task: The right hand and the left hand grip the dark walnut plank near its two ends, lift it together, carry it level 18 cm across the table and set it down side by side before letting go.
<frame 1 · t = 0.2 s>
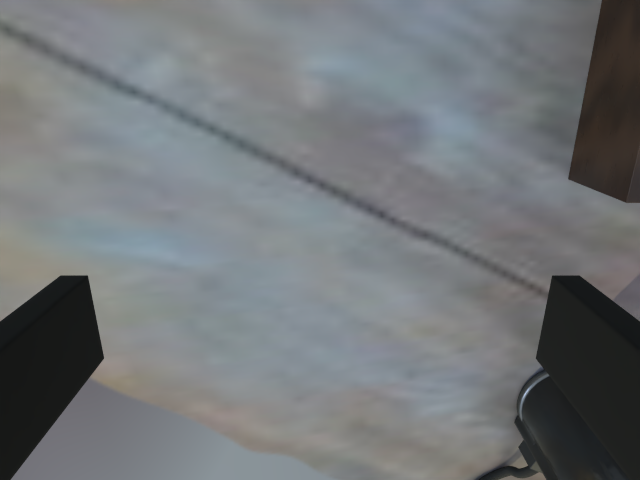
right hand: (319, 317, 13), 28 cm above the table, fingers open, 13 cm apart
walnut plank: (627, 17, 35), on the table
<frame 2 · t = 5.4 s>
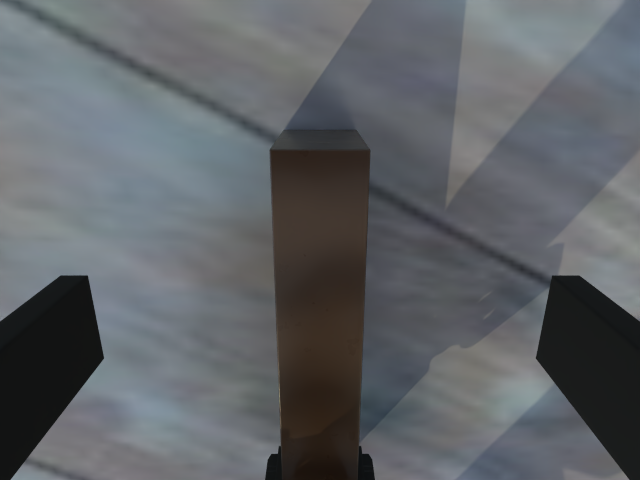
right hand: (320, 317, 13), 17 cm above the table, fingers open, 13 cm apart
walnut plank: (320, 316, 32), on the table, touching left hand
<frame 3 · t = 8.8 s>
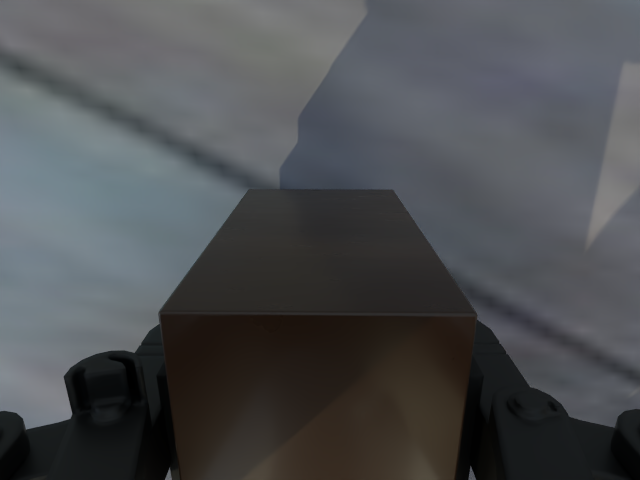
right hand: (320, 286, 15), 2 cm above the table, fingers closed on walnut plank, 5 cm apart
when the right hand's fingers open (1 cm above the table, at t = 14.0 s): walnut plank stays where it is, on the table.
when the left hand's fingers open (4 cm above the table, at t = 14.1 s): walnut plank stays where it is, on the table.
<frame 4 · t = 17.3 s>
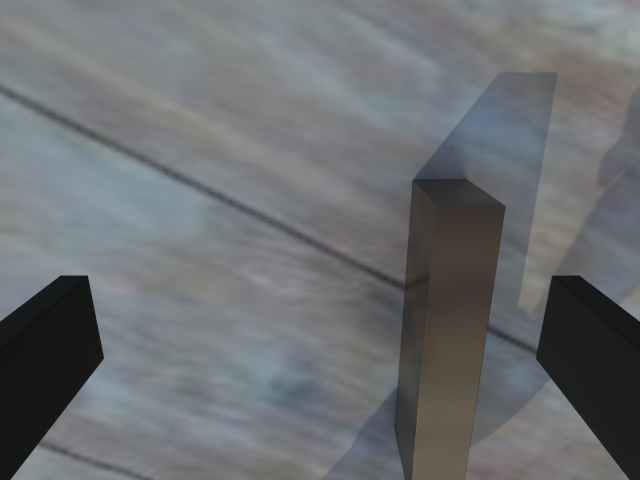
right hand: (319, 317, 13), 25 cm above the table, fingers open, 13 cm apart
walnut plank: (427, 318, 41), on the table
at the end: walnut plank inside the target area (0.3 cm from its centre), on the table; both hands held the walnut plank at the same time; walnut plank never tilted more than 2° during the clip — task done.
